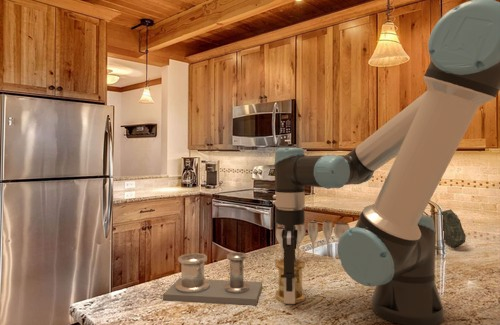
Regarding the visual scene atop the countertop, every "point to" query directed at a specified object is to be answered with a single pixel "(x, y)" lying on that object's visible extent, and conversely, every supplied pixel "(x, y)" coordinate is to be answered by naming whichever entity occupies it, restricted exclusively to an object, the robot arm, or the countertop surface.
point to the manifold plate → (217, 294)
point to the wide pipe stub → (192, 273)
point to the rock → (452, 229)
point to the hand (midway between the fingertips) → (290, 296)
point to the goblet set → (314, 235)
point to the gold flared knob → (298, 280)
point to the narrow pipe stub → (236, 274)
